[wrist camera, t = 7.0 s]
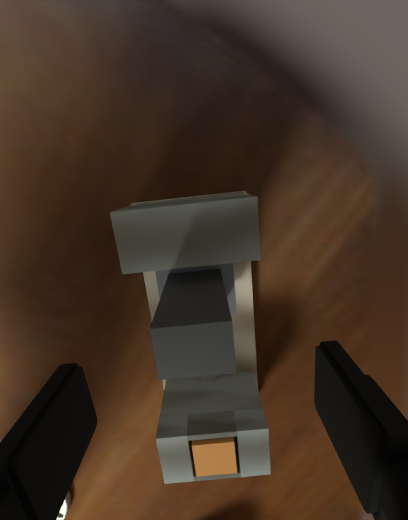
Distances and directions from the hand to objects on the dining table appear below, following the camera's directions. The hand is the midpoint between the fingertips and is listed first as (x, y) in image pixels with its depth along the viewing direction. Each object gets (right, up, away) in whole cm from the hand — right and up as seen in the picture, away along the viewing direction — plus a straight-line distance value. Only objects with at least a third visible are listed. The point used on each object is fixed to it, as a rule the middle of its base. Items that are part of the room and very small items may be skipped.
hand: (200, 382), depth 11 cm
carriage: (0, +4, +14) cm, 14 cm away
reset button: (+1, -11, +13) cm, 17 cm away
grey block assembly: (0, 0, +17) cm, 17 cm away
